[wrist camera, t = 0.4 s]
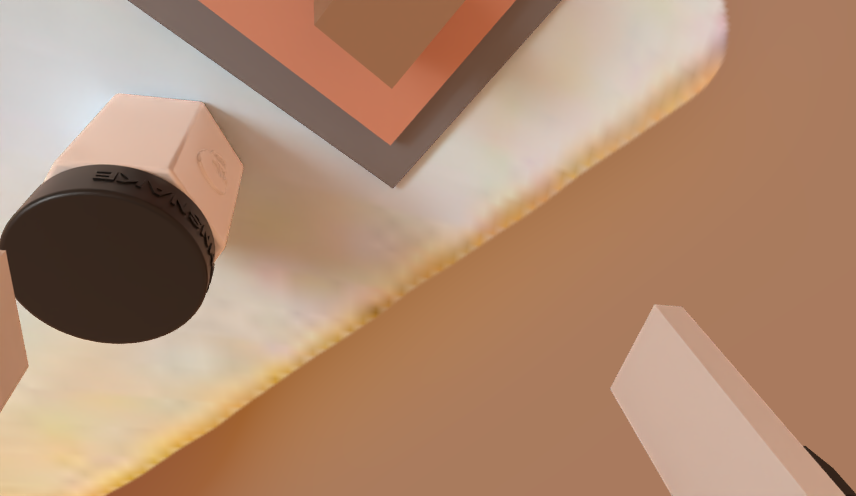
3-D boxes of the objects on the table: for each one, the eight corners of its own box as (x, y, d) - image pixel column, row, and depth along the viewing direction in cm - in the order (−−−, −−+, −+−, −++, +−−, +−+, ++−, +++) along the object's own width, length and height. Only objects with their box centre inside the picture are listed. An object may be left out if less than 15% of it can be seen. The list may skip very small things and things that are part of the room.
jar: (265, 193, 36) (249, 311, 26) (152, 240, 37) (94, 374, 27) (184, 63, 31) (125, 148, 21) (53, 120, 31) (-64, 230, 22)
